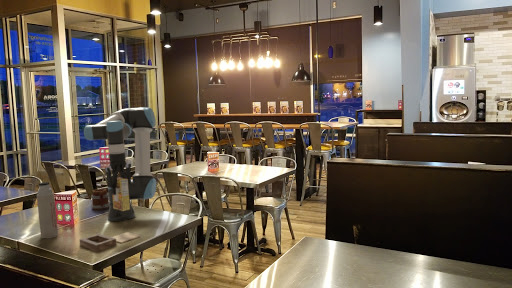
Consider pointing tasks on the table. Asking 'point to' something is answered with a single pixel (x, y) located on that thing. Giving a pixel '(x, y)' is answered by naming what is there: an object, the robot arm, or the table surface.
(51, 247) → the table surface
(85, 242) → the collar
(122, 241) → the plate
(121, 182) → the candy box
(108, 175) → the robot arm
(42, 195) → the thermos bottle
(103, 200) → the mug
